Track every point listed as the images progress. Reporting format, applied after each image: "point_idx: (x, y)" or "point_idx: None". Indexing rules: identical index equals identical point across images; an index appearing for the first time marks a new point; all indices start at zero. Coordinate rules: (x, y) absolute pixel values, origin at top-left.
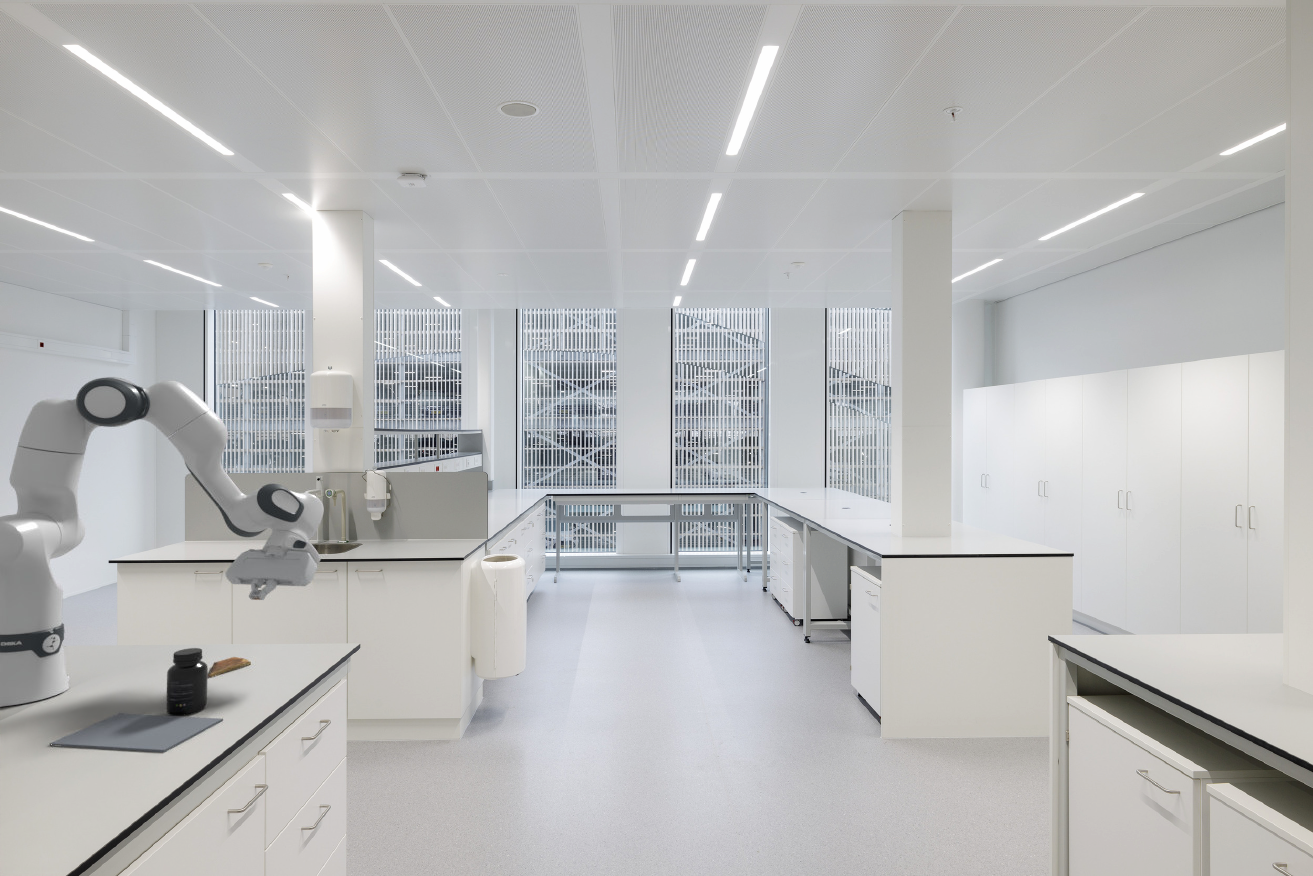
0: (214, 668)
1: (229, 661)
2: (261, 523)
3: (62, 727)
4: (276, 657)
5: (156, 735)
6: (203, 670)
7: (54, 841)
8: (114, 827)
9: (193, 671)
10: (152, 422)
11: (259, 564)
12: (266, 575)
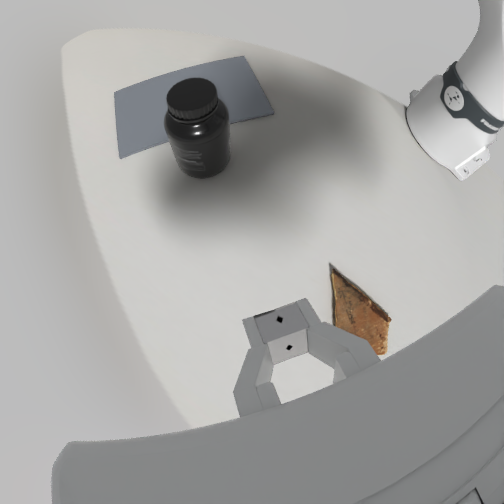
0: (355, 294)
1: (366, 332)
2: None
3: (290, 79)
4: None
5: (153, 99)
6: (164, 127)
7: (87, 39)
8: (66, 56)
9: (166, 111)
10: None
11: (445, 438)
12: (299, 412)
